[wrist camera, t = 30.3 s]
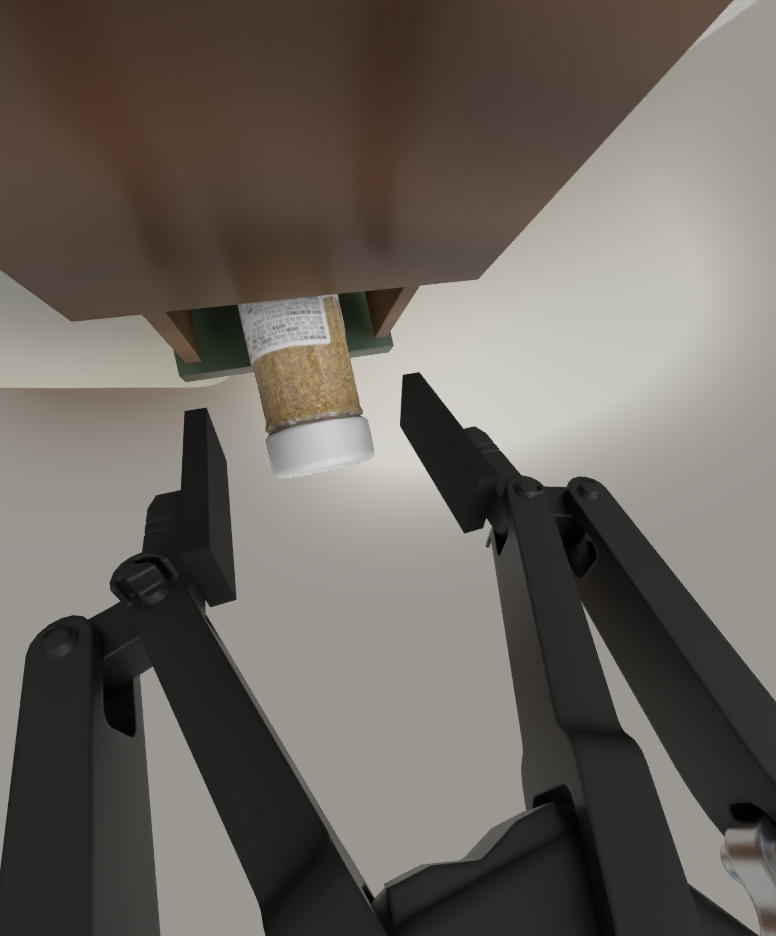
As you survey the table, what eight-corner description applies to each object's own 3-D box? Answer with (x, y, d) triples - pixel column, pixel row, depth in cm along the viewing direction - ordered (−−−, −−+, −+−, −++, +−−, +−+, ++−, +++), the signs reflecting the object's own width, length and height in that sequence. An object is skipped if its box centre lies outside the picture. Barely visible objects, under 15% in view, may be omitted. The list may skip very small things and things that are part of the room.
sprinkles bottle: (308, 207, 20) (366, 462, 20) (215, 211, 19) (276, 481, 19) (313, 126, 15) (387, 456, 15) (191, 126, 14) (272, 481, 14)
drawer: (349, 281, 31) (370, 376, 31) (183, 297, 28) (207, 403, 28) (455, -87, 11) (513, 185, 11) (-94, -173, 8) (-5, 204, 8)
